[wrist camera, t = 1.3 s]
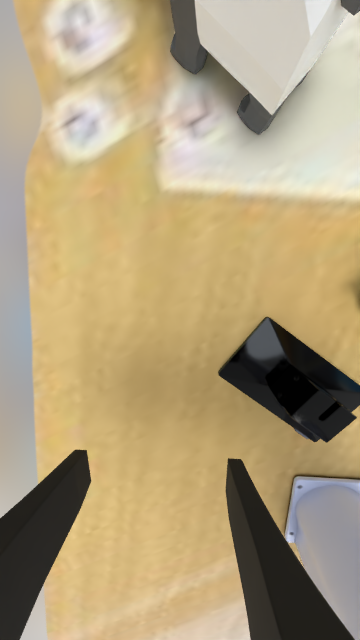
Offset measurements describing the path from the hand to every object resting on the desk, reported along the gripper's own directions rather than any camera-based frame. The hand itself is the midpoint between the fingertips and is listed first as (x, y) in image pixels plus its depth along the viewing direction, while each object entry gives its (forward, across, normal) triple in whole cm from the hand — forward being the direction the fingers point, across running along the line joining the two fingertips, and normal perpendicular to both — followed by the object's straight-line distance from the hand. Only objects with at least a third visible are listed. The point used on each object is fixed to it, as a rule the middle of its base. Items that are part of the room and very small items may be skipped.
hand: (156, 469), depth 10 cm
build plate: (+10, -11, 0) cm, 15 cm away
